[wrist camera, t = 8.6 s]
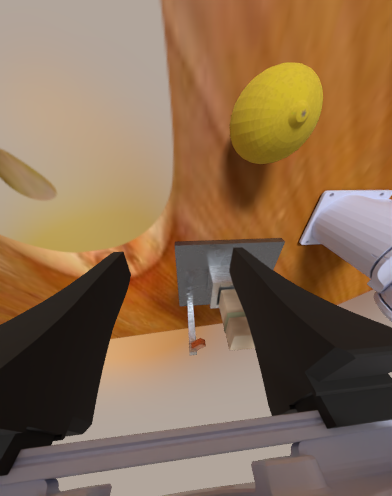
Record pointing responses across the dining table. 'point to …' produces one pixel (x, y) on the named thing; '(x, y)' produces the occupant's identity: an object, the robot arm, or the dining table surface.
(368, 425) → the robot arm
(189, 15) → the dining table surface
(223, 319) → the block
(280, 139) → the lemon
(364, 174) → the dining table surface
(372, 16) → the dining table surface
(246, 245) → the stand
